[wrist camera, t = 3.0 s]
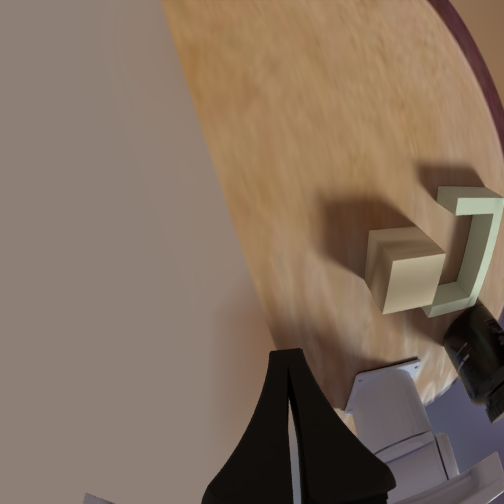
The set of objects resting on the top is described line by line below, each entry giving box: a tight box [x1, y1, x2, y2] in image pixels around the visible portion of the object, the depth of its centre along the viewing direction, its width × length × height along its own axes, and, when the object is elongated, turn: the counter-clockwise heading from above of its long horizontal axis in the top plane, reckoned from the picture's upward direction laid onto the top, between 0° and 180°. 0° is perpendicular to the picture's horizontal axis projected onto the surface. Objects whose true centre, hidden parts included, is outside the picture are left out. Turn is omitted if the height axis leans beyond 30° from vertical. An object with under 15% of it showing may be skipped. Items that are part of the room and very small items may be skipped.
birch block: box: [364, 226, 446, 314], centre depth 16 cm, size 4×4×4 cm
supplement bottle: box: [444, 306, 504, 424], centre depth 17 cm, size 7×7×12 cm
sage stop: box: [421, 186, 504, 318], centre depth 17 cm, size 10×6×2 cm, turn 7°
